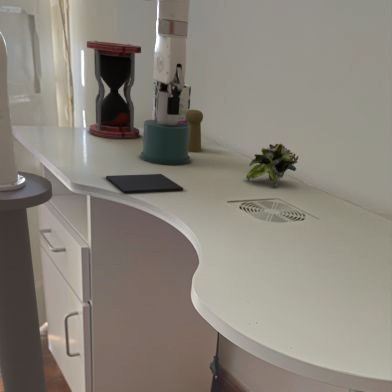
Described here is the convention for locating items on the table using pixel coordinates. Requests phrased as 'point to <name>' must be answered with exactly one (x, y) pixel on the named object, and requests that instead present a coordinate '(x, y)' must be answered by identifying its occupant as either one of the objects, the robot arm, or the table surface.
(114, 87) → the hourglass
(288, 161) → the leafy green plant
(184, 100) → the candy bar box
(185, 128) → the teal short wide cylinder
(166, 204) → the table surface
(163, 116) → the steel cup
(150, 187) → the mat
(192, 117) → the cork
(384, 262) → the table surface
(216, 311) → the table surface
